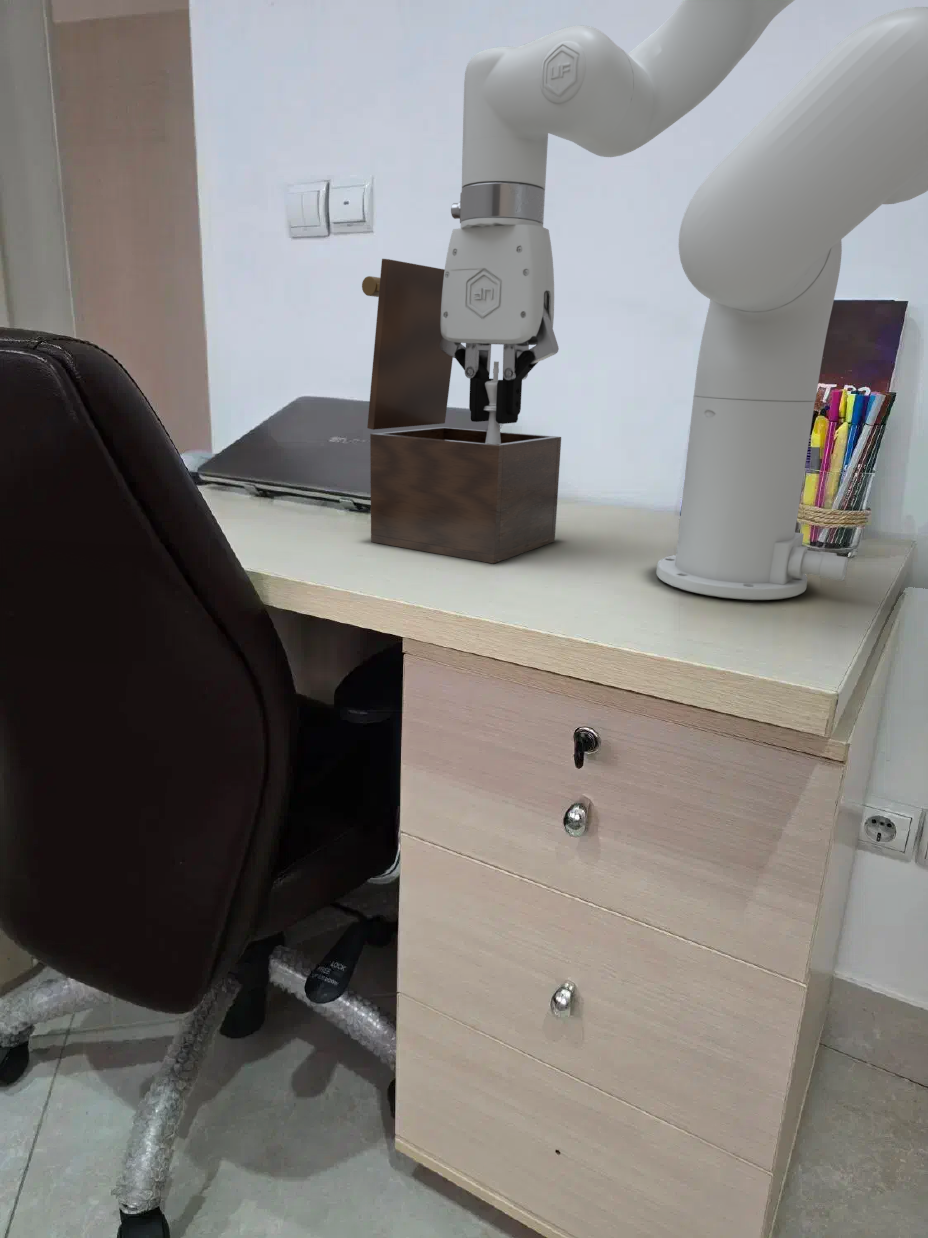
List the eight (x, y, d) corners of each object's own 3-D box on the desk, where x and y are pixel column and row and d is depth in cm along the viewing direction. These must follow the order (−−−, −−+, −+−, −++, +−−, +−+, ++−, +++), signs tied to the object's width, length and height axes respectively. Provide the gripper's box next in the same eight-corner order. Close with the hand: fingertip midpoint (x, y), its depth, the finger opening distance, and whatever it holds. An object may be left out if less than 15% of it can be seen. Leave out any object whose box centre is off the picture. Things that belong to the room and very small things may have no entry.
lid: (463, 272, 85) (419, 267, 88) (388, 258, 75) (341, 253, 78) (445, 423, 91) (404, 414, 93) (373, 429, 81) (329, 419, 83)
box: (555, 541, 87) (561, 436, 84) (494, 563, 77) (498, 445, 73) (440, 523, 94) (442, 426, 91) (370, 541, 84) (370, 433, 81)
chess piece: (517, 465, 84) (523, 362, 81) (516, 471, 79) (521, 362, 76) (469, 463, 84) (472, 360, 81) (464, 469, 79) (468, 360, 76)
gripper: (406, 212, 76) (404, 418, 81) (563, 200, 68) (550, 429, 73) (451, 224, 82) (447, 415, 87) (600, 214, 74) (585, 425, 79)
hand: (494, 420), depth 80 cm, fingers closed on chess piece
